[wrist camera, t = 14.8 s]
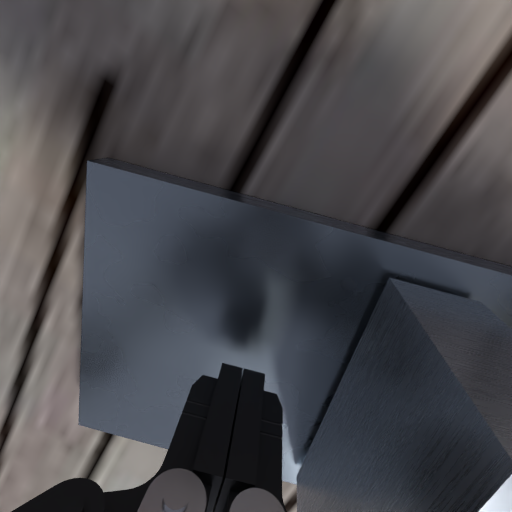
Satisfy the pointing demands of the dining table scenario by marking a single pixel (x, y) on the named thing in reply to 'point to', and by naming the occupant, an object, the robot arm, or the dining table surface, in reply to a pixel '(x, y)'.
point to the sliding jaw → (418, 412)
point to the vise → (234, 299)
